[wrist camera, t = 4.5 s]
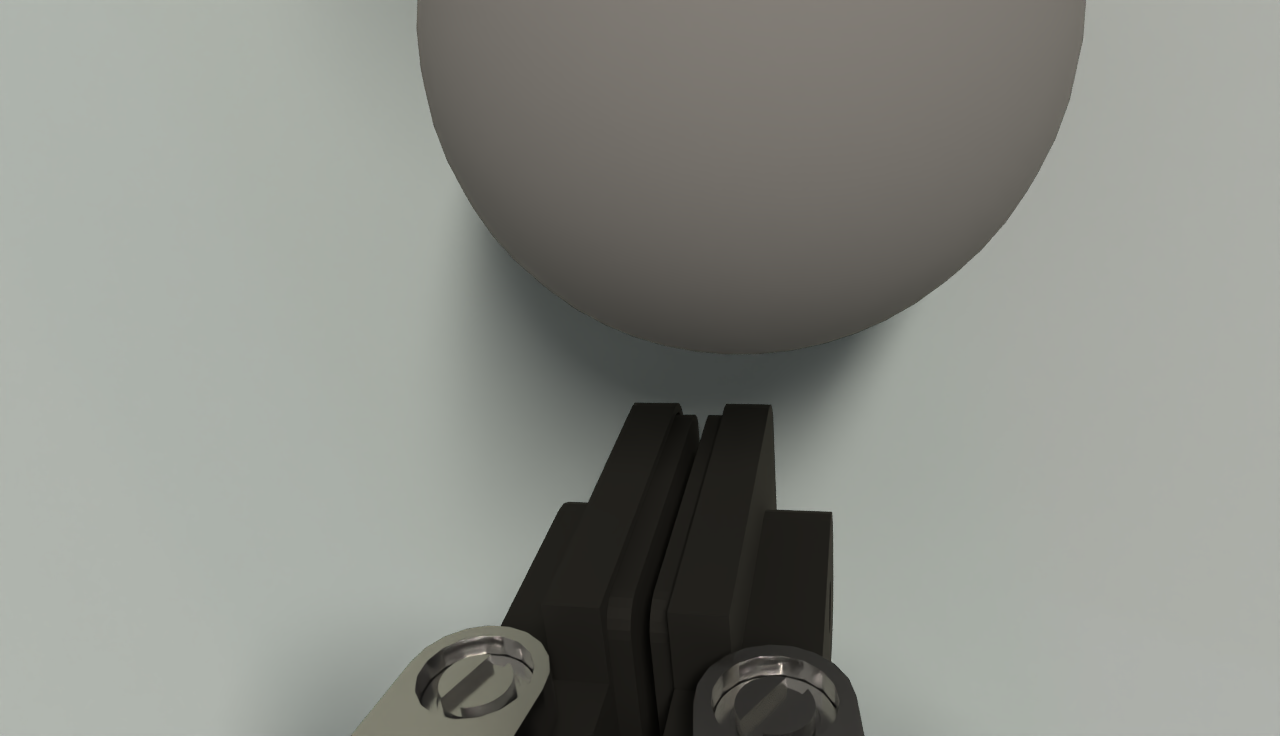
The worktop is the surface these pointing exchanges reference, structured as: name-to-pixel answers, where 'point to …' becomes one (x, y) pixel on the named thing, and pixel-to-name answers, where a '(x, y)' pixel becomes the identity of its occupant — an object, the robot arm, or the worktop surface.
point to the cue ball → (746, 150)
